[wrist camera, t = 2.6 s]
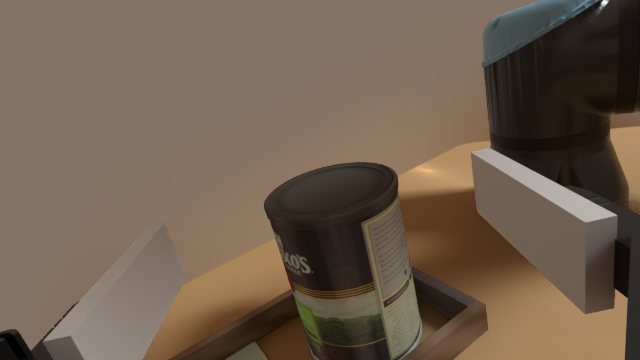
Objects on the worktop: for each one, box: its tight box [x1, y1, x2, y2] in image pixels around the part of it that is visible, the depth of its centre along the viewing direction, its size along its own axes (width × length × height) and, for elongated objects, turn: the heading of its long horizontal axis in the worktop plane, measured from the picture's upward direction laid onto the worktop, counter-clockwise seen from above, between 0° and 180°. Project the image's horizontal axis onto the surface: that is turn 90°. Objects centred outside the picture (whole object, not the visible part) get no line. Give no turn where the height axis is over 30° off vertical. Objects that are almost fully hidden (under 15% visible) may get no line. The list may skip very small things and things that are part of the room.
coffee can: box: [264, 162, 422, 360], centre depth 31 cm, size 10×10×14 cm
